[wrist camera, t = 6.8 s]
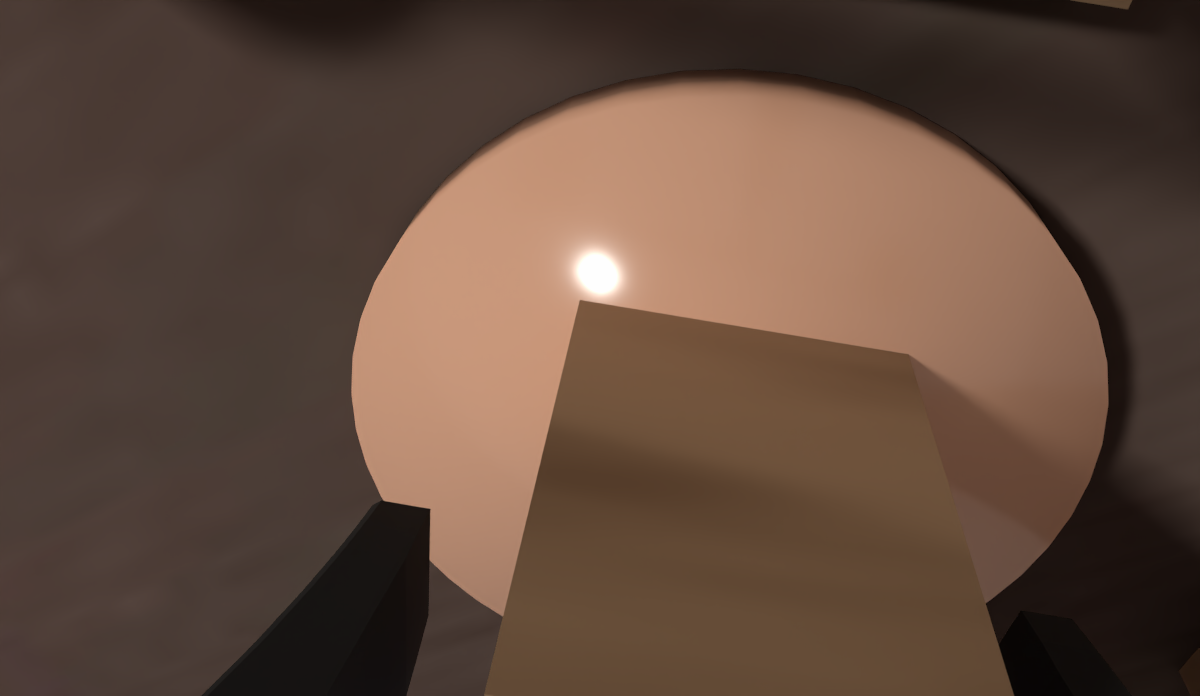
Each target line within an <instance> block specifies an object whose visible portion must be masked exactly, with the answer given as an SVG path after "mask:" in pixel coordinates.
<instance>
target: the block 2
mask: <svg viewBox="0 0 1200 696" xmlns="http://www.w3.org/2000/svg"><path fill="white" fill-rule="evenodd" d="M1179 673H1180V675H1181V677H1182V679H1183V681H1184V683H1185V685H1186V687H1187V689H1188V691H1189V693H1190V695H1191V696H1200V647H1199V648H1198V649H1197V650H1196V652H1195V653H1194V654H1193V655H1192V656H1191V657H1190V659H1189V660H1188V661H1187V662H1186V663H1185V664H1184V665H1183V667H1182V668H1181V669H1180V670H1179Z"/></svg>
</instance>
